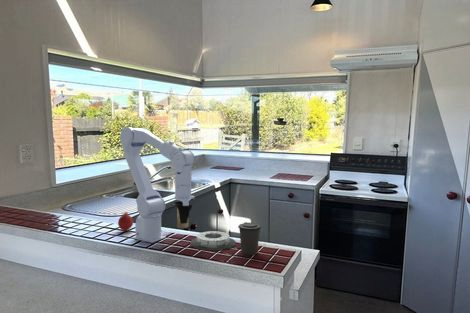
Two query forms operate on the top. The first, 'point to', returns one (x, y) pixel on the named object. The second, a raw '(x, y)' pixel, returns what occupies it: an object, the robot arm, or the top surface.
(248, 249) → the coffee cup
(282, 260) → the top surface
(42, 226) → the top surface
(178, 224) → the peg
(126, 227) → the onion
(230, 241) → the rosette
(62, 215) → the top surface
